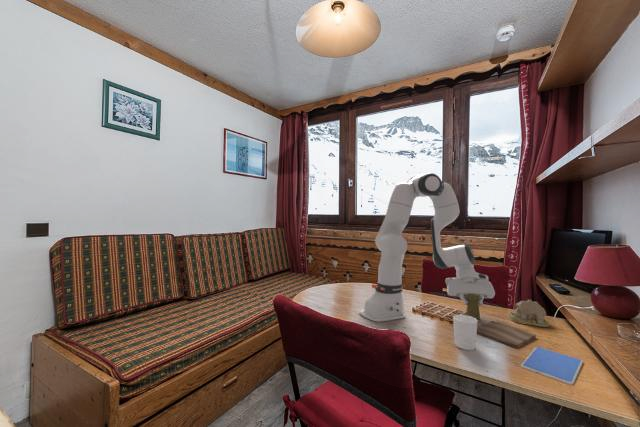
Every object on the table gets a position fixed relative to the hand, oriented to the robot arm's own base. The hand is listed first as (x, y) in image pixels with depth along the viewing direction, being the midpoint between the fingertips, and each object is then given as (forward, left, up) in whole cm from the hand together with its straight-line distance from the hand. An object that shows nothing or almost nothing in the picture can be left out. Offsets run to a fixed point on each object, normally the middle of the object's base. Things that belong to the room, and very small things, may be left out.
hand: (473, 304), depth 128 cm
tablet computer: (-17, -35, -7) cm, 39 cm away
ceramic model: (+18, -15, -7) cm, 24 cm away
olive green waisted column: (0, 0, -7) cm, 7 cm away
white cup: (-29, -13, -7) cm, 32 cm away
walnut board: (-7, -16, -6) cm, 18 cm away
